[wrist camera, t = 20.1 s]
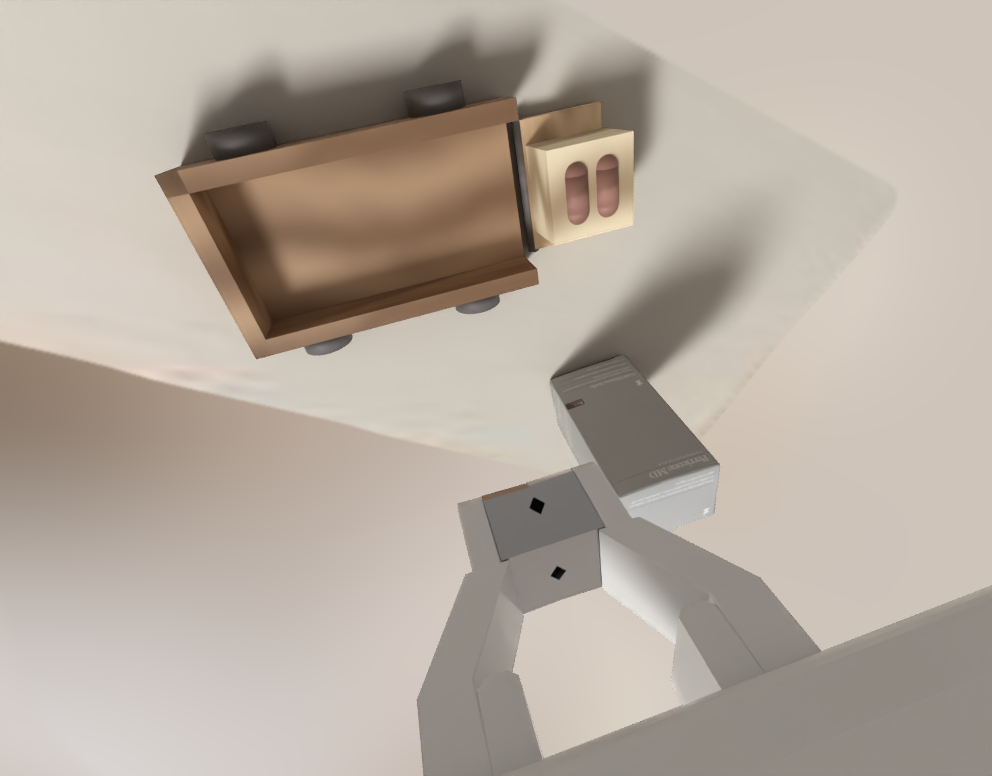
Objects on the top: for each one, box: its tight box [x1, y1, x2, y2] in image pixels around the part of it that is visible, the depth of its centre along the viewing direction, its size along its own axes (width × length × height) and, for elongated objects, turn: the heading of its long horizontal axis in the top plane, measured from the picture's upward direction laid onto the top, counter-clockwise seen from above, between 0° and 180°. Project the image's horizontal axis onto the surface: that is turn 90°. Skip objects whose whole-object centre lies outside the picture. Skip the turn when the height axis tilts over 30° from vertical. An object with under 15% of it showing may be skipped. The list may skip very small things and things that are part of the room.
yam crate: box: [526, 128, 634, 245], centre depth 32 cm, size 6×6×5 cm
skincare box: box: [550, 355, 720, 532], centre depth 40 cm, size 8×7×16 cm
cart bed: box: [155, 80, 539, 359], centre depth 31 cm, size 15×21×4 cm
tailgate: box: [512, 102, 602, 252], centre depth 34 cm, size 9×1×6 cm
